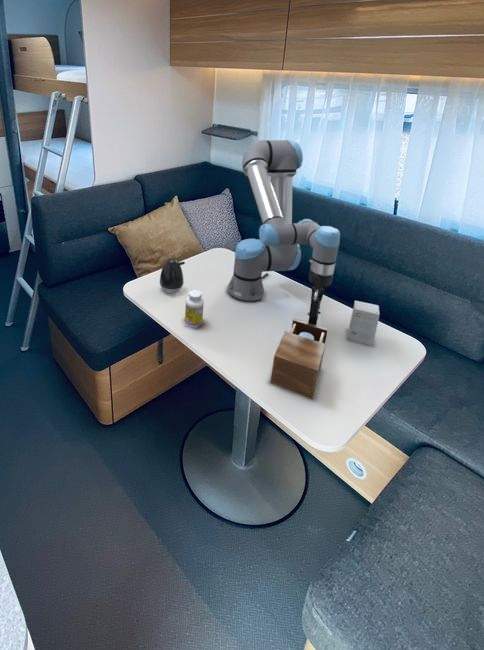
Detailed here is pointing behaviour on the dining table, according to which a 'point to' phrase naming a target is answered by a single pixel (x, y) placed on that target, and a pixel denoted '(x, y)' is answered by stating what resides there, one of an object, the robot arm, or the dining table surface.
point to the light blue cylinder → (306, 335)
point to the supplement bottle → (194, 309)
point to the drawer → (309, 330)
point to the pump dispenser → (171, 276)
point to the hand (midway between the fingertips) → (311, 329)
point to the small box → (363, 322)
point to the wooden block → (297, 364)
